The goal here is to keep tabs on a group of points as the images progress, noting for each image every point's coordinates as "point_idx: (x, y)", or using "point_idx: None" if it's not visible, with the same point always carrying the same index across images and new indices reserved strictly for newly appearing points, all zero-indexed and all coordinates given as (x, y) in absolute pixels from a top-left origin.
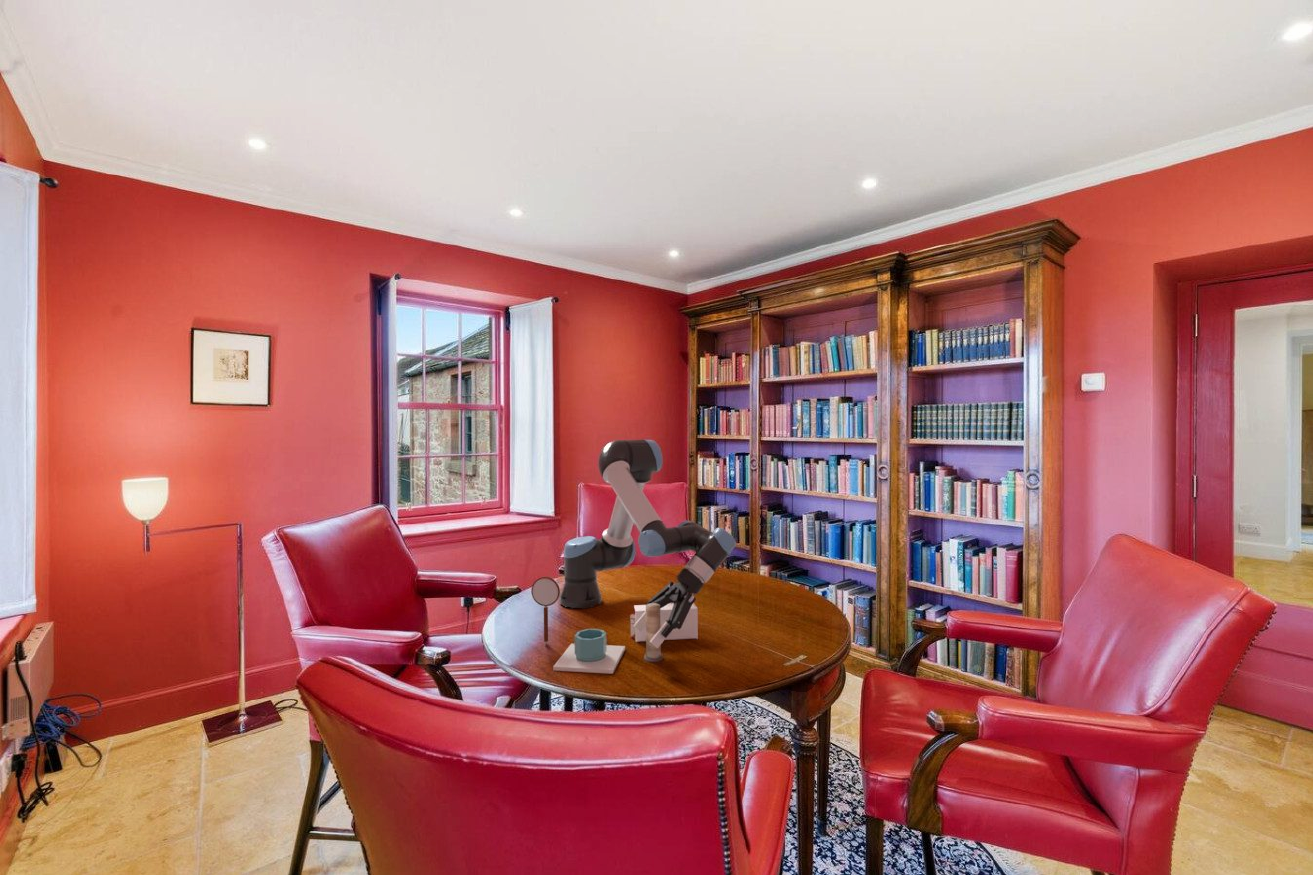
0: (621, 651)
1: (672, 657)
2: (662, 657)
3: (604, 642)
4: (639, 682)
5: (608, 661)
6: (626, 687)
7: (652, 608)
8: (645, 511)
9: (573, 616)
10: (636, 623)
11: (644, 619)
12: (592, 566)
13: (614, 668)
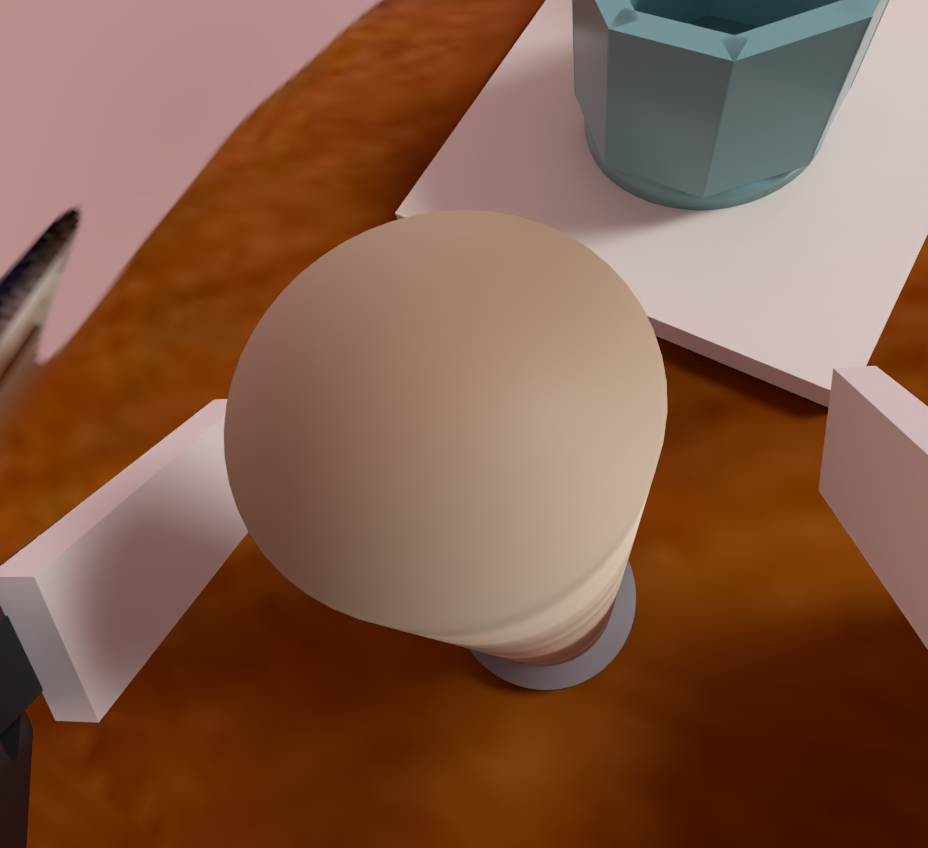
0: (717, 337)
1: (487, 785)
2: (484, 666)
3: (643, 100)
4: (202, 354)
5: (545, 210)
6: (188, 269)
7: (265, 333)
8: None
9: None
10: (861, 387)
11: (899, 505)
12: None
13: None
